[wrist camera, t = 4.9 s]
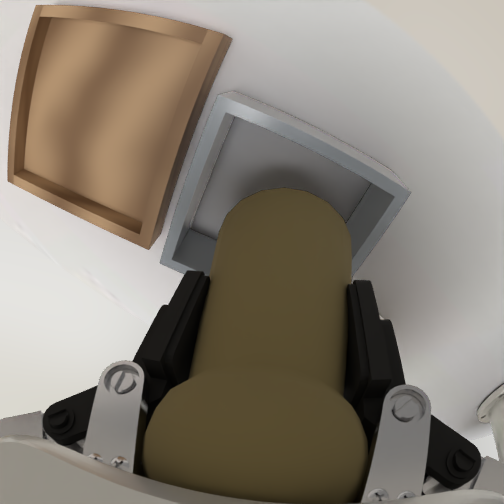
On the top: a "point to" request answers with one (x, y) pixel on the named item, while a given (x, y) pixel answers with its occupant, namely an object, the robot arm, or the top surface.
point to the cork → (268, 364)
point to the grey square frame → (235, 104)
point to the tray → (109, 112)
